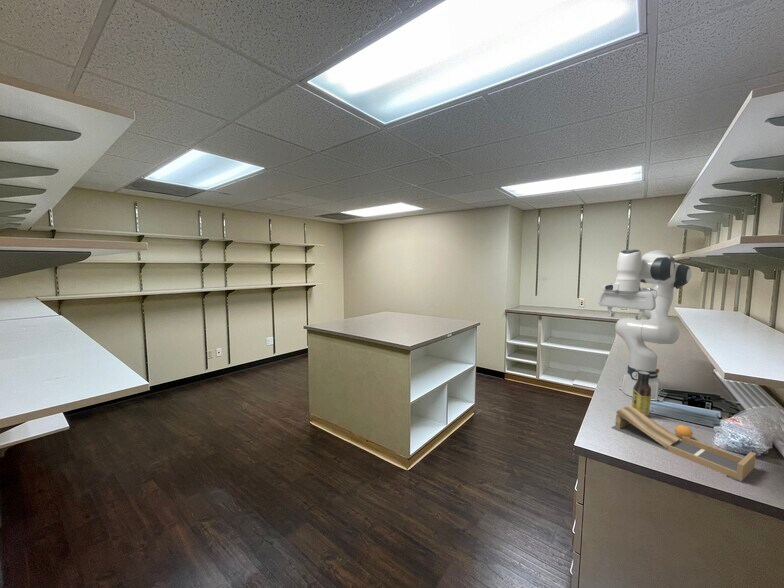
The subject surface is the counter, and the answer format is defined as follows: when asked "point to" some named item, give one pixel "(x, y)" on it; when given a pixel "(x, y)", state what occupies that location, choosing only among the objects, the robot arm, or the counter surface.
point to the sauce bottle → (642, 393)
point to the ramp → (644, 425)
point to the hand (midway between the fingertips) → (624, 318)
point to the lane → (702, 454)
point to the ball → (683, 431)
